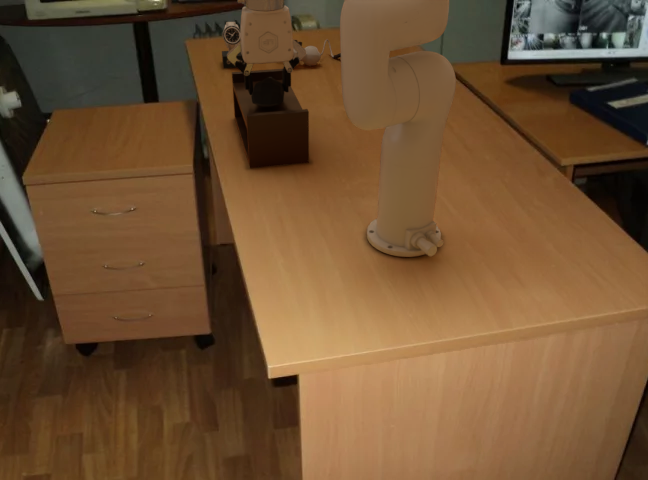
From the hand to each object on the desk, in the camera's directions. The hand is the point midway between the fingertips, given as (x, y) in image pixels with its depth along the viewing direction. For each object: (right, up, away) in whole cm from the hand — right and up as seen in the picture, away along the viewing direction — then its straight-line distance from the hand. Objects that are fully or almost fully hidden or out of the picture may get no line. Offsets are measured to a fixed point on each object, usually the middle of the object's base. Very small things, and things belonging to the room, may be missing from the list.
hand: (268, 90), depth 150 cm
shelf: (0, -9, +6) cm, 11 cm away
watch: (-13, +18, +44) cm, 49 cm away
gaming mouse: (0, -1, +1) cm, 1 cm away
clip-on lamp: (+7, +20, +47) cm, 52 cm away
